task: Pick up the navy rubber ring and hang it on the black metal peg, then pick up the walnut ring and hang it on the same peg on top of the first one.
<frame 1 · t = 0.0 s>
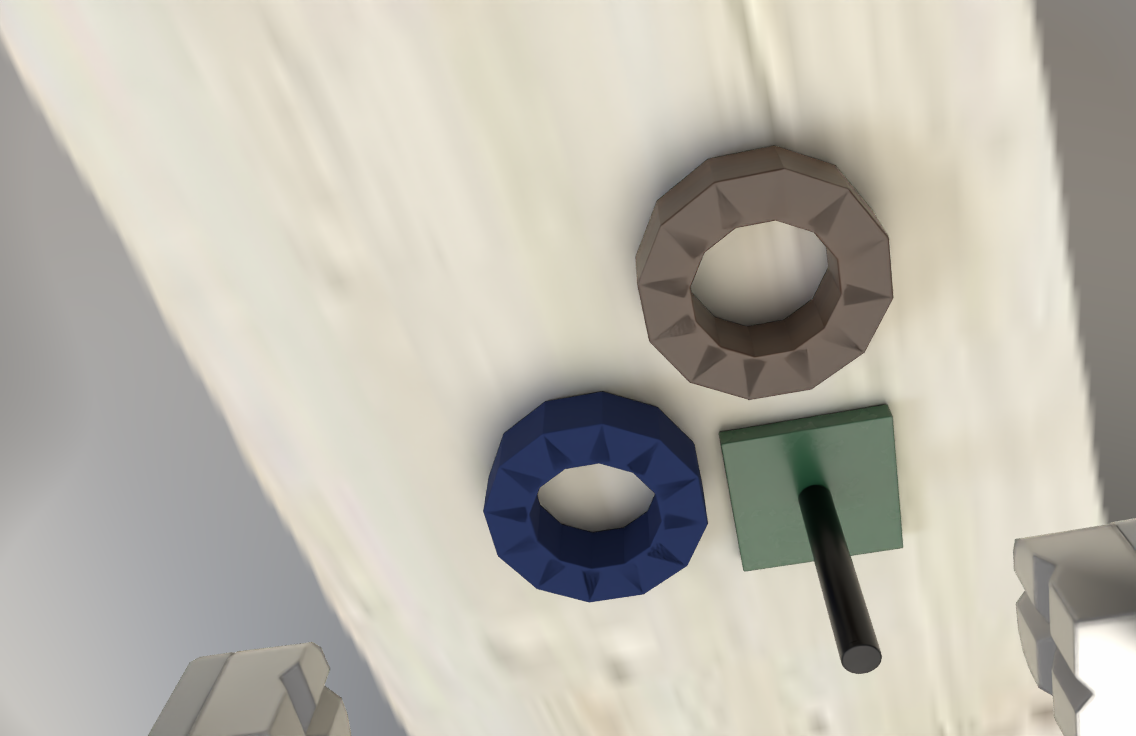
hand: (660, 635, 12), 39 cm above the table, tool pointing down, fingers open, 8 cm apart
walnut ring: (756, 263, 52), on the table
navy ring: (595, 482, 59), on the table
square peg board: (810, 484, 59), on the table
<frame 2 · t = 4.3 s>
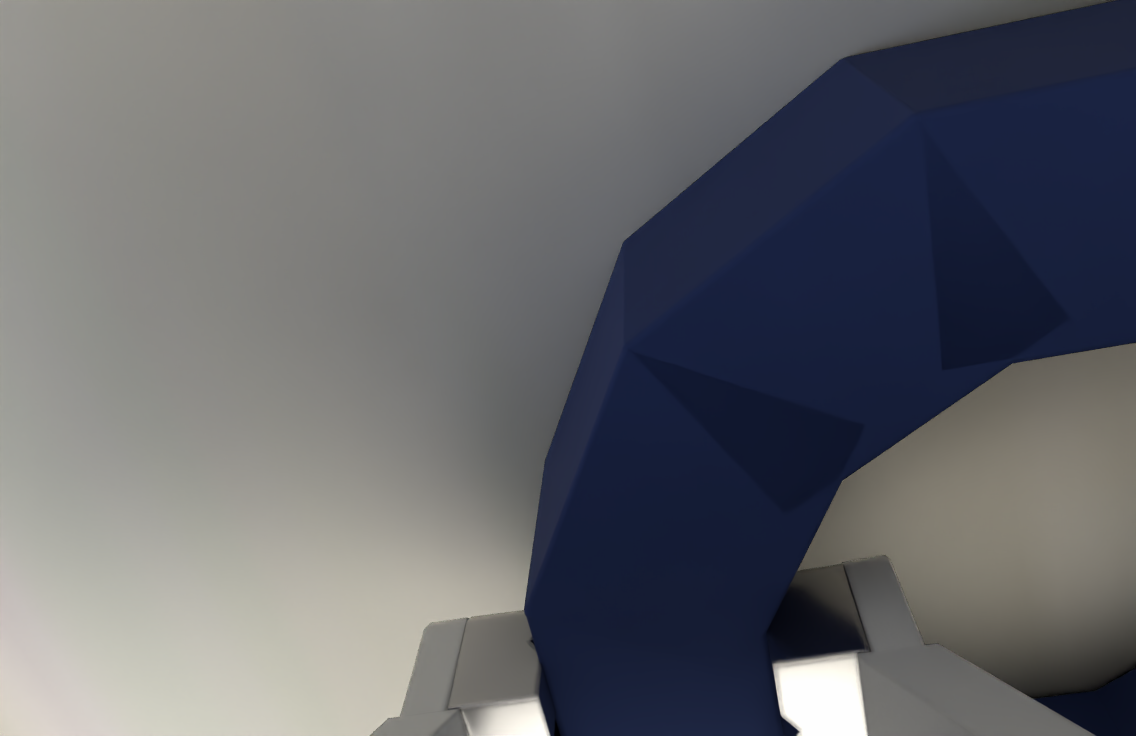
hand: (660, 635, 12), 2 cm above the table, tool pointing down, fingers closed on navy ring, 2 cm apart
navy ring: (1014, 490, 13), on the table, touching gripper
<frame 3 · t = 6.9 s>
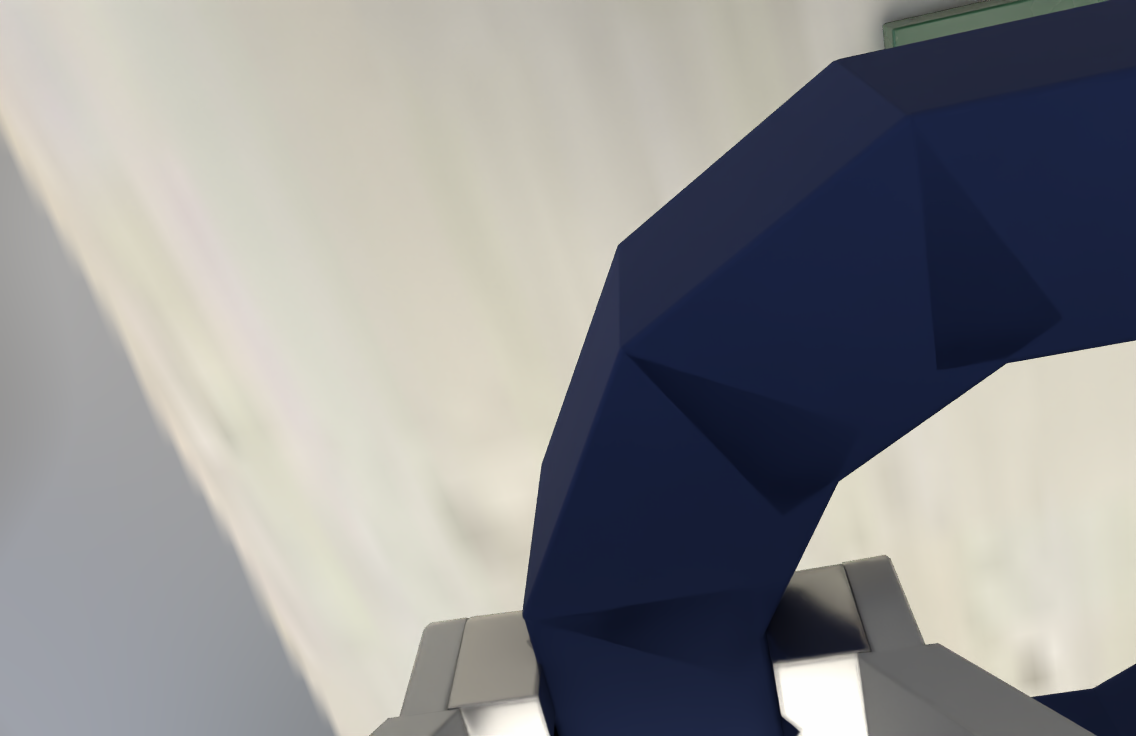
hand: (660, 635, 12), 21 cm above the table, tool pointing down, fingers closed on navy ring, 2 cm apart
navy ring: (1010, 489, 13), point 19 cm above the table, touching gripper
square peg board: (1055, 147, 30), on the table
when the fingers open (14 cm above the table, at t = 9.8 s): navy ring drops 10 cm, resting on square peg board.
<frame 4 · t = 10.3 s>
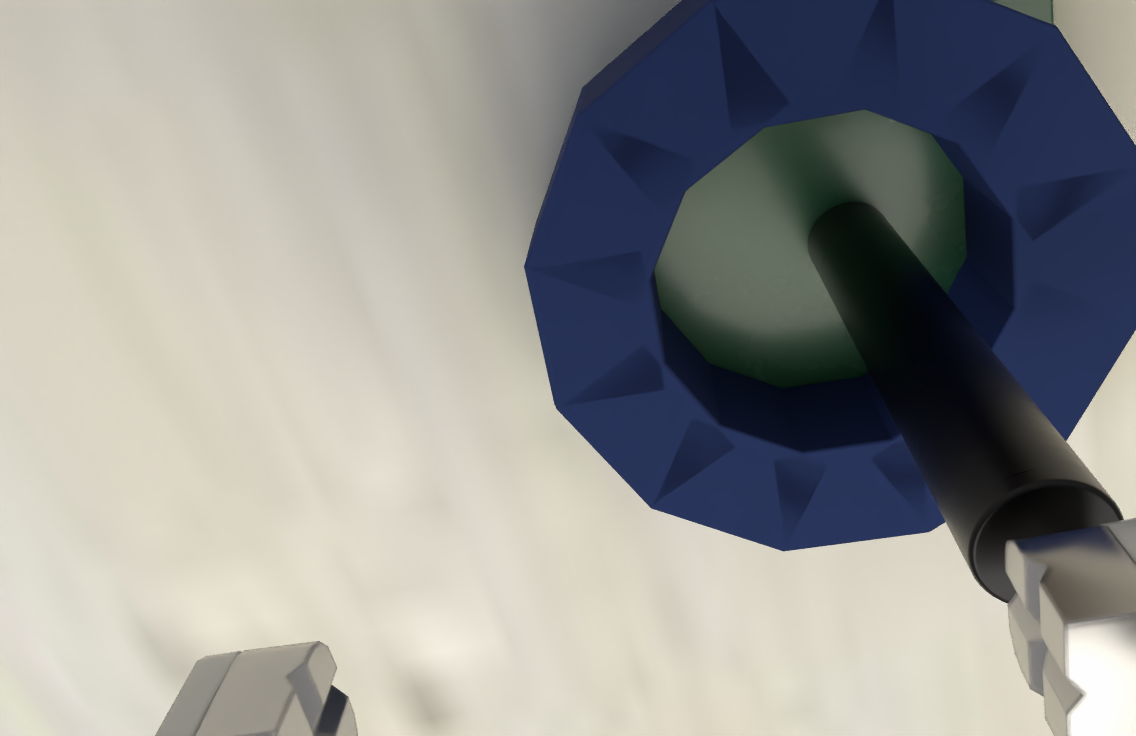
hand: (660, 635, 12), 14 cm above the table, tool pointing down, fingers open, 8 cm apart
navy ring: (806, 243, 23), point 1 cm above the table, touching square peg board
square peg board: (838, 225, 24), on the table
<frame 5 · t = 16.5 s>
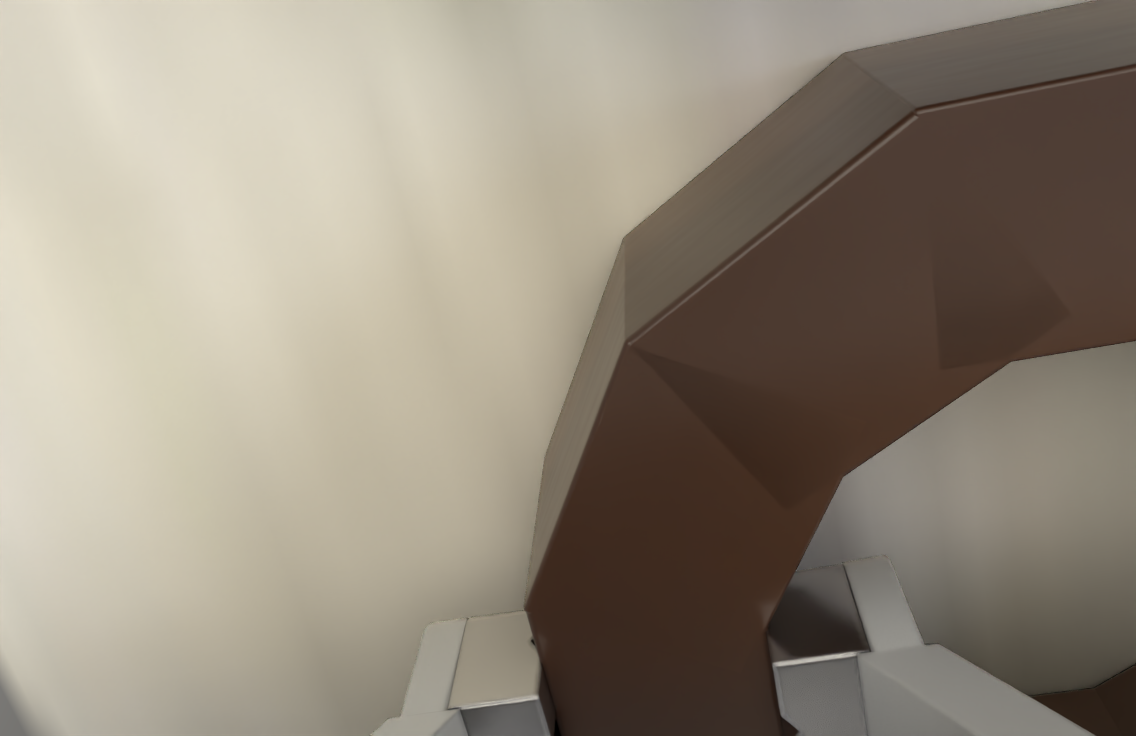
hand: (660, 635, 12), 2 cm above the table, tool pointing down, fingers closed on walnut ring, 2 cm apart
walnut ring: (1014, 487, 13), on the table, touching gripper
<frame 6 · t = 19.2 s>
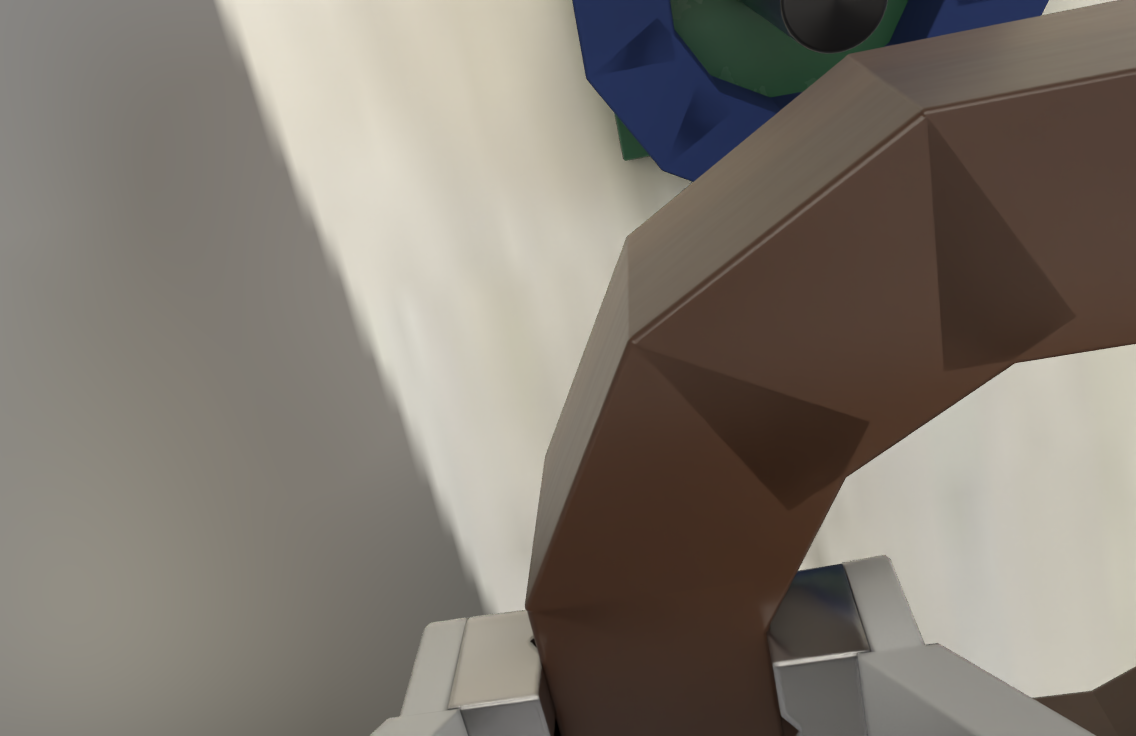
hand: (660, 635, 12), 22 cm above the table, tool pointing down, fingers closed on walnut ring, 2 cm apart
walnut ring: (1014, 490, 13), point 20 cm above the table, touching gripper
when the fingers open (14 cm above the table, at t = 22.0 s): walnut ring drops 7 cm, resting on navy ring.
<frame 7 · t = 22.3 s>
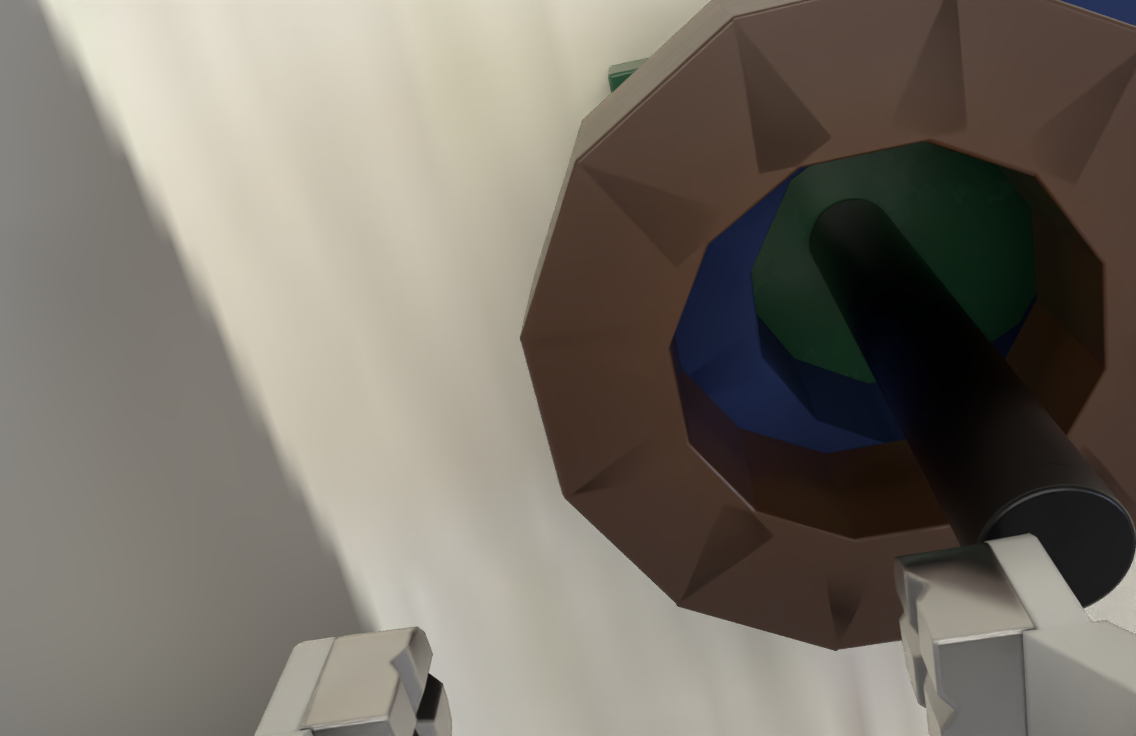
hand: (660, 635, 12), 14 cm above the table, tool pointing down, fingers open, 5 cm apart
walnut ring: (848, 290, 20), point 4 cm above the table, touching navy ring
navy ring: (897, 235, 23), point 1 cm above the table, touching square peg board, walnut ring
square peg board: (840, 223, 24), on the table
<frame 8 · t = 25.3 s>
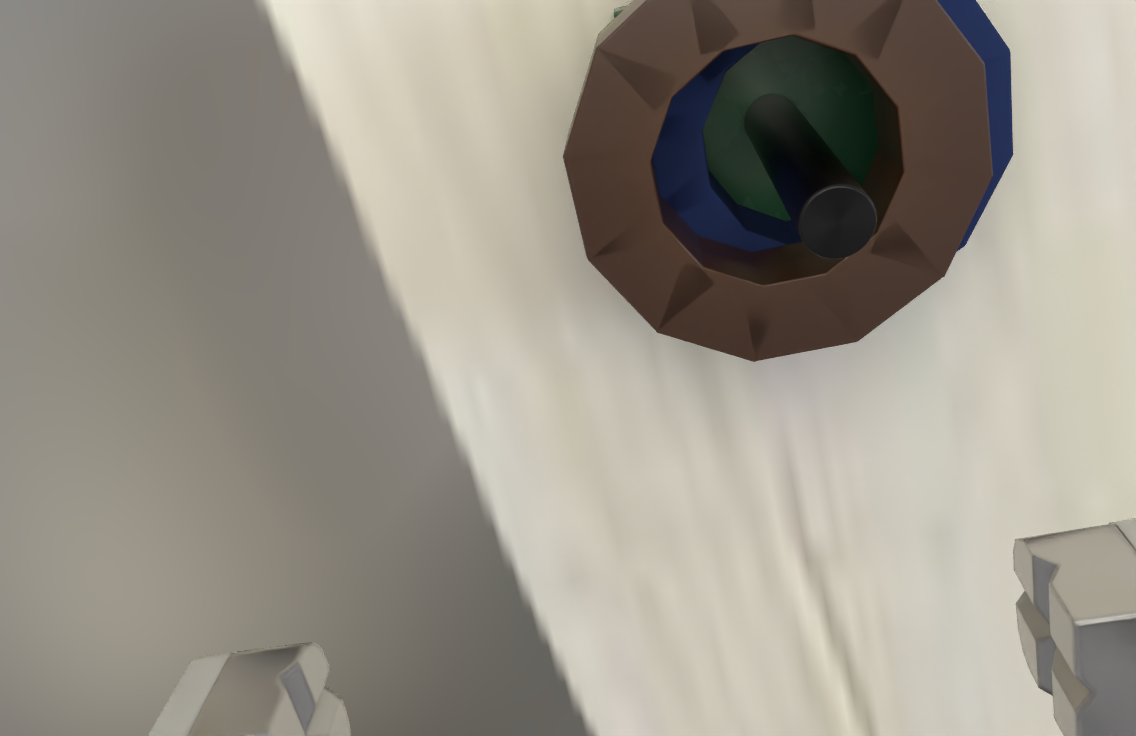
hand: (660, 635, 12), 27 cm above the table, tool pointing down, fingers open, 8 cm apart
walnut ring: (763, 142, 32), point 4 cm above the table, touching navy ring
navy ring: (801, 118, 35), point 1 cm above the table, touching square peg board, walnut ring
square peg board: (767, 114, 36), on the table
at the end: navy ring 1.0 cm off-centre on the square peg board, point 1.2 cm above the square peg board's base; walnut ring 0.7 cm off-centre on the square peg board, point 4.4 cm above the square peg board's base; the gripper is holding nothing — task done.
